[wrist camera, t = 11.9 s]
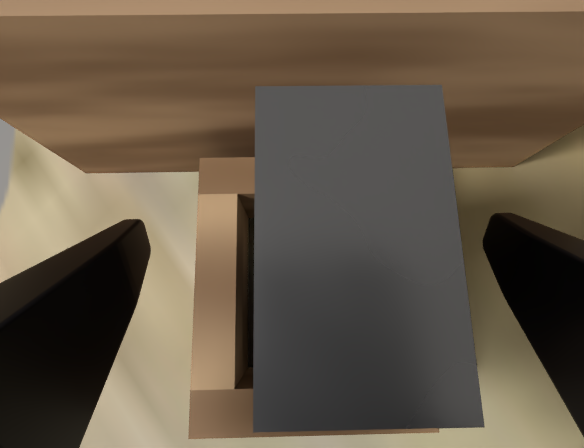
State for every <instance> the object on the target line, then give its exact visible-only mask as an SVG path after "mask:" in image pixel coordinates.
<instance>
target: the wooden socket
mask: <svg viewBox="0 0 584 448" xmlns="http://www.w3.org/2000/svg"><path fill="white" fill-rule="evenodd" d="M355 85H442V90H443V98H444V106H445V114H446V122H447V130H448V138H449V146H450V154H451V162H452V168H463V167H514V166H515V165H517V164H519V163H520V162H522V161H524V160H525V159H527V158H529V157H530V156H532V155H534V154H535V153H537V152H539V151H540V150H542V149H544V148H545V147H547V146H549V145H550V144H552V143H554V142H555V141H557V140H559V139H560V138H562V137H564V136H565V135H567V134H569V133H570V132H572V131H574V130H575V129H577V128H579V127H580V126H582V125H584V0H0V118H1V119H2V120H3V121H5V122H7V123H8V124H10V125H11V126H13V127H14V128H16V129H18V130H19V131H21V132H22V133H24V134H25V135H27V136H29V137H30V138H32V139H33V140H35V141H36V142H38V143H40V144H41V145H43V146H44V147H46V148H47V149H49V150H50V151H52V152H54V153H55V154H57V155H58V156H60V157H61V158H63V159H65V160H66V161H68V162H69V163H71V164H72V165H74V166H76V167H77V168H79V169H80V170H82V171H83V172H85V173H125V172H193V171H199V189H198V214H197V239H196V264H195V289H194V314H193V339H192V364H191V389H190V414H189V439H205V438H243V437H282V436H320V435H358V434H396V433H435V432H439V428H428V429H385V430H341V431H297V432H253V368H248V239H249V218H254V199H255V86H355Z"/></svg>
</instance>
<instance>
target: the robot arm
mask: <svg viewBox="0 0 584 448" xmlns="http://www.w3.org/2000/svg"><path fill="white" fill-rule="evenodd" d="M483 249H484V251H485V254H486V256H487V258H488V261H489V263H490V265H491V268H492V270H493V273H494V275H495V277H496V280H497V282H498V284H499V287H500V289H501V291H502V293H503V295H504V297H505V299H506V301H507V303H508V305H509V307H510V308H511V310H512V312H513V314H514V315H515V317H516V319H517V321H518V322H519V324H520V326H521V328H522V329H523V331H524V333H525V335H526V336H527V338H528V340H529V342H530V343H531V345H532V347H533V349H534V351H535V352H536V354H537V356H538V358H539V359H540V361H541V363H542V365H543V366H544V368H545V370H546V372H547V373H548V375H549V377H550V379H551V380H552V382H553V384H554V386H555V387H556V389H557V391H558V393H559V394H560V396H561V398H562V400H563V402H564V403H565V405H566V407H567V409H568V410H569V412H570V414H571V416H572V417H573V419H574V421H575V423H576V424H577V426H578V428H579V430H580V431H581V433H582V435H583V437H584V240H581V239H579V238H576V237H573V236H571V235H568V234H565V233H563V232H560V231H557V230H555V229H552V228H550V227H547V226H544V225H542V224H539V223H536V222H534V221H531V220H529V219H526V218H523V217H521V216H518V215H515V214H513V213H495V214H493V215H492V216H491V218H490V220H489V223H488V226H487V229H486V232H485V235H484V238H483ZM150 252H151V248H150V243H149V239H148V236H147V232H146V229H145V225H144V223H143V221H142V220H140V219H126V220H123V221H121V222H119V223H117V224H115V225H113V226H111V227H109V228H107V229H105V230H103V231H101V232H99V233H97V234H95V235H94V236H92V237H90V238H88V239H86V240H84V241H82V242H80V243H78V244H76V245H74V246H72V247H70V248H68V249H66V250H64V251H62V252H60V253H58V254H56V255H54V256H52V257H50V258H48V259H46V260H45V261H43V262H41V263H39V264H37V265H35V266H33V267H31V268H29V269H27V270H25V271H23V272H21V273H19V274H17V275H15V276H13V277H11V278H9V279H7V280H5V281H3V282H1V283H0V448H79V447H80V444H81V442H82V439H83V437H84V434H85V432H86V430H87V427H88V425H89V422H90V420H91V417H92V415H93V412H94V410H95V407H96V405H97V402H98V400H99V397H100V395H101V392H102V390H103V387H104V385H105V382H106V380H107V377H108V375H109V373H110V370H111V368H112V365H113V363H114V360H115V358H116V355H117V353H118V350H119V348H120V345H121V343H122V340H123V338H124V335H125V333H126V330H127V328H128V325H129V323H130V320H131V318H132V315H133V313H134V310H135V308H136V305H137V302H138V299H139V295H140V291H141V288H142V284H143V280H144V276H145V273H146V269H147V265H148V261H149V258H150Z"/></svg>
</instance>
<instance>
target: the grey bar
mask: <svg viewBox="0 0 584 448" xmlns="http://www.w3.org/2000/svg"><path fill="white" fill-rule="evenodd" d="M472 427H484V419H483V411H482V403H481V395H480V387H479V379H478V371H477V363H476V355H475V347H474V339H473V331H472V323H471V315H470V307H469V299H468V291H467V283H466V275H465V267H464V259H463V251H462V243H461V235H460V227H459V218H458V210H457V202H456V194H455V186H454V178H453V170H452V162H451V154H450V146H449V138H448V130H447V122H446V114H445V106H444V98H443V90H442V85H355V86H255V199H254V350H253V432H297V431H341V430H385V429H428V428H472Z"/></svg>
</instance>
